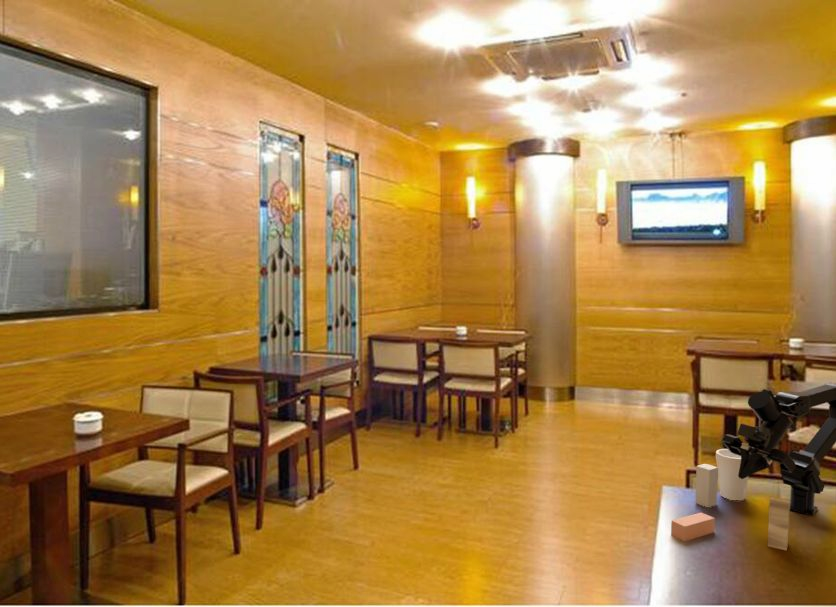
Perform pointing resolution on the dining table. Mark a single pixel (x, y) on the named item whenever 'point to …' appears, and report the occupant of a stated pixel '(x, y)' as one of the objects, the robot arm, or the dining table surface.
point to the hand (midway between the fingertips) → (740, 477)
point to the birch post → (778, 523)
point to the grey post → (706, 485)
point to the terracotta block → (692, 526)
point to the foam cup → (730, 475)
